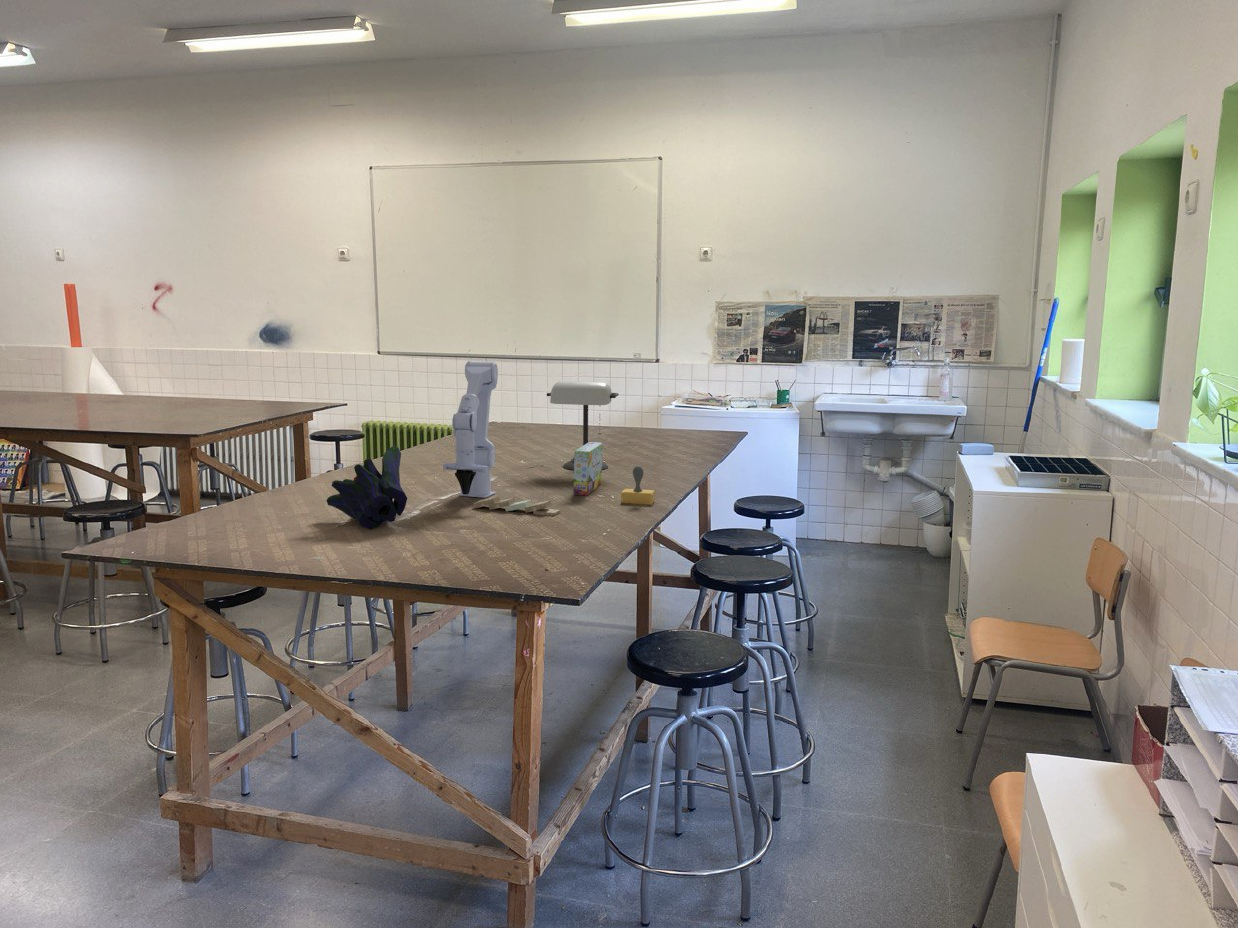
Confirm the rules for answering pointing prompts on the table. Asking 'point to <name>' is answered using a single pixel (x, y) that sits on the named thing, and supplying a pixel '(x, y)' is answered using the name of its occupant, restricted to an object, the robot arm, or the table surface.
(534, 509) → the domino
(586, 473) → the snack box
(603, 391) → the lamp
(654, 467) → the table surface
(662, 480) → the table surface
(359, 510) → the dark blue lobed piece
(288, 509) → the table surface
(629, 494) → the rubber stamp
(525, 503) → the domino
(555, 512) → the domino
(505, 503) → the domino
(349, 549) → the table surface
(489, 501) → the domino
